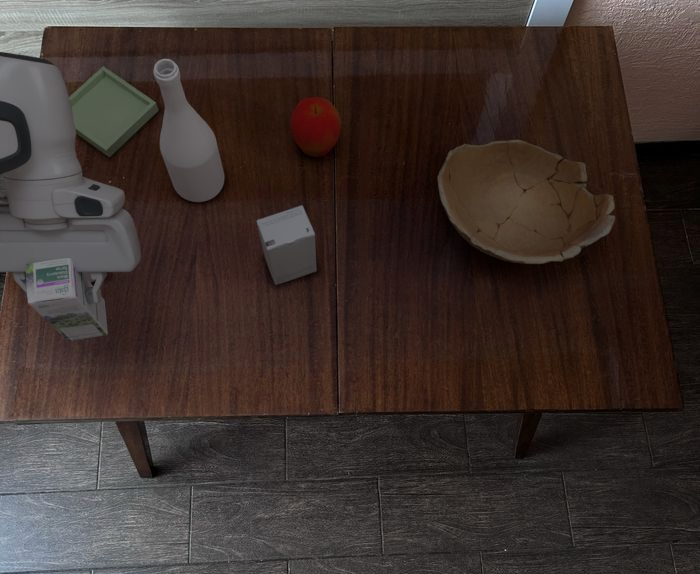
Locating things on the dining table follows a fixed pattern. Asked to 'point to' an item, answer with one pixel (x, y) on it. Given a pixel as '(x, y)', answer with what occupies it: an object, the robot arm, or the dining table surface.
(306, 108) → the apple
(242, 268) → the dining table surface
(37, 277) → the syrup box
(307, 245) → the cosmetic box
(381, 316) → the dining table surface
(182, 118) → the wine bottle
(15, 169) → the robot arm
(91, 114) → the tray
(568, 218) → the ceramic bowl
